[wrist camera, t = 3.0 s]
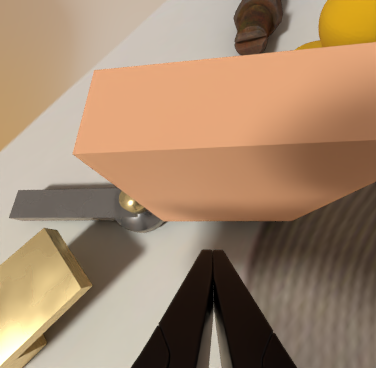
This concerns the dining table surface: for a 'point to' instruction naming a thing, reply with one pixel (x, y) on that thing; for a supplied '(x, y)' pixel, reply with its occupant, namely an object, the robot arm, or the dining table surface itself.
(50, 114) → the dining table surface
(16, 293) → the keeper
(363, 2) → the doorknob
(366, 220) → the dining table surface
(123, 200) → the pintle
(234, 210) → the peach block with bar
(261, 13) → the bolt
